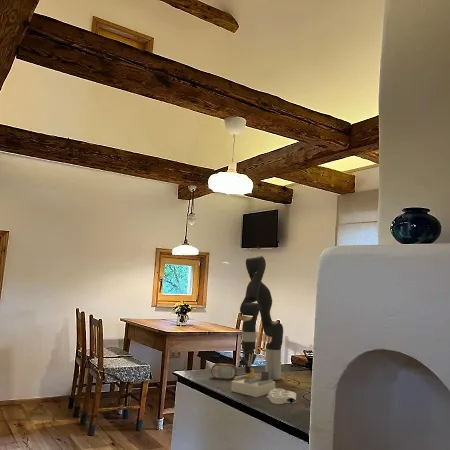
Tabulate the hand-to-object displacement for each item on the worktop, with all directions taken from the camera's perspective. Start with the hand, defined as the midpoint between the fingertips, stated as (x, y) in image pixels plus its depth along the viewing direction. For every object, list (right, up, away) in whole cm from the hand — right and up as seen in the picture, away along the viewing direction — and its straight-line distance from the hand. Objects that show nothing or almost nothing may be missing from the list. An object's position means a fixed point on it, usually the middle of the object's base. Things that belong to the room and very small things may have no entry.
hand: (247, 373), depth 239 cm
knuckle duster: (+16, -8, -18) cm, 25 cm away
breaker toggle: (+2, -4, +2) cm, 4 cm away
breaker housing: (+3, -8, -4) cm, 10 cm away
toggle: (+9, -3, -3) cm, 10 cm away
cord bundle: (+9, -10, +5) cm, 14 cm away
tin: (-13, -11, +22) cm, 28 cm away
